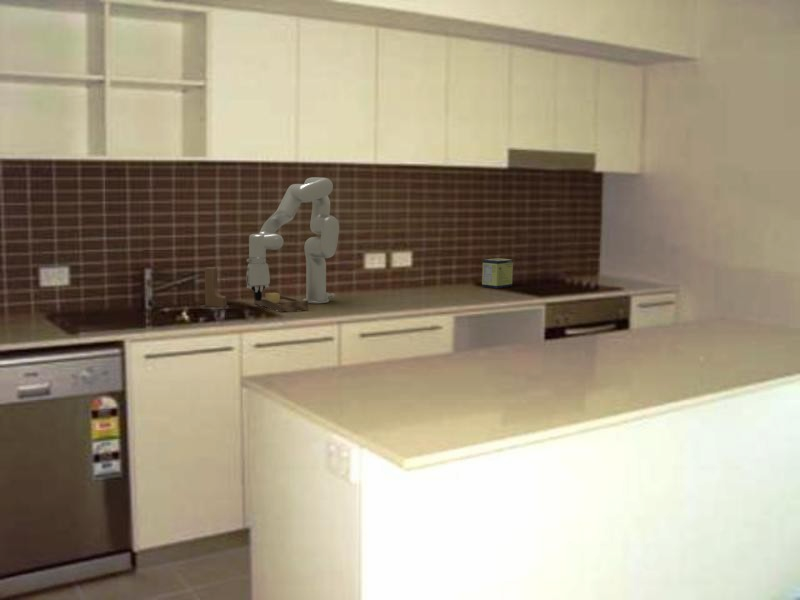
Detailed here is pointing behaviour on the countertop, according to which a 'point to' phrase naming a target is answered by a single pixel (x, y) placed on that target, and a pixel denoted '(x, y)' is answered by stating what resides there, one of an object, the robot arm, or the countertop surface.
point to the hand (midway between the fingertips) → (257, 300)
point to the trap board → (284, 304)
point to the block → (273, 297)
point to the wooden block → (213, 289)
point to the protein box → (497, 273)
